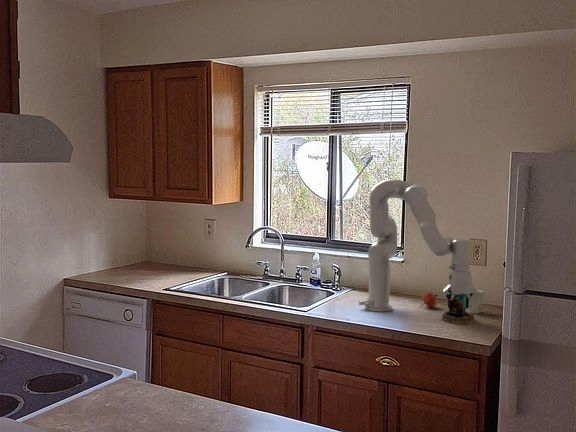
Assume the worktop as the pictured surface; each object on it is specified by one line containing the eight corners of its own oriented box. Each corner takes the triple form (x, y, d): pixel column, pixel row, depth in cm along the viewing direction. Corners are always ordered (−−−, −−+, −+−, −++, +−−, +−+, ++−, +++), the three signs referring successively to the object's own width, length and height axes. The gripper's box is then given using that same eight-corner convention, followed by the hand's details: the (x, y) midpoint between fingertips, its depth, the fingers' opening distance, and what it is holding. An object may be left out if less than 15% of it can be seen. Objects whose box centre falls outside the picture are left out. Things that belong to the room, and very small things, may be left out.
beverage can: (445, 315, 277) (447, 288, 276) (454, 312, 282) (455, 286, 281) (459, 318, 272) (461, 291, 271) (468, 315, 277) (470, 288, 276)
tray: (453, 325, 268) (454, 319, 268) (435, 317, 281) (435, 311, 281) (481, 323, 273) (481, 317, 272) (462, 314, 286) (462, 309, 286)
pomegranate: (422, 313, 296) (440, 302, 293) (413, 300, 298) (431, 289, 294) (425, 311, 303) (443, 301, 299) (417, 298, 304) (434, 287, 301)
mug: (479, 315, 286) (480, 293, 285) (452, 311, 293) (453, 289, 292) (484, 311, 293) (485, 290, 292) (457, 307, 300) (458, 286, 299)
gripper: (448, 270, 268) (446, 311, 270) (482, 268, 274) (480, 309, 276) (438, 267, 275) (436, 307, 277) (471, 265, 281) (469, 304, 283)
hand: (458, 307), depth 276 cm, fingers closed on beverage can, 7 cm apart
